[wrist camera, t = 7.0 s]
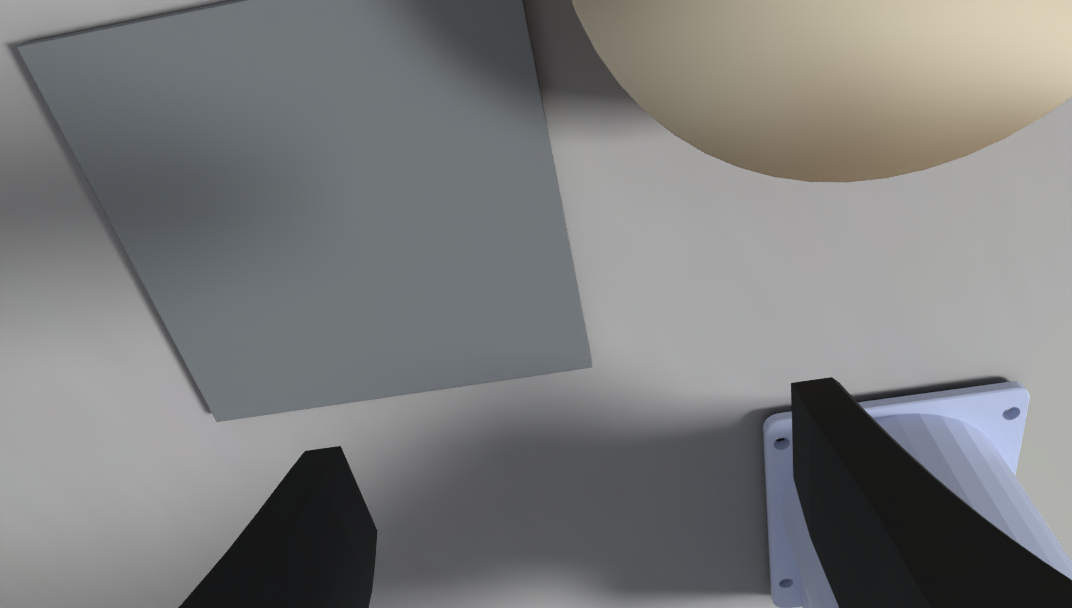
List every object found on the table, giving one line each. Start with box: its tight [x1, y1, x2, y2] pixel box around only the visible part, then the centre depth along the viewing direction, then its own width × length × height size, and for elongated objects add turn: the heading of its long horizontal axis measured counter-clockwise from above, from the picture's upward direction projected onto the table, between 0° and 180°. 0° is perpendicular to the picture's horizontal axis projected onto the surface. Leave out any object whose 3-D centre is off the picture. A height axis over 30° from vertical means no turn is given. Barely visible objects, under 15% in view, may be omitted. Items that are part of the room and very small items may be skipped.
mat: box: [17, 0, 592, 422], centre depth 22 cm, size 12×12×1 cm
